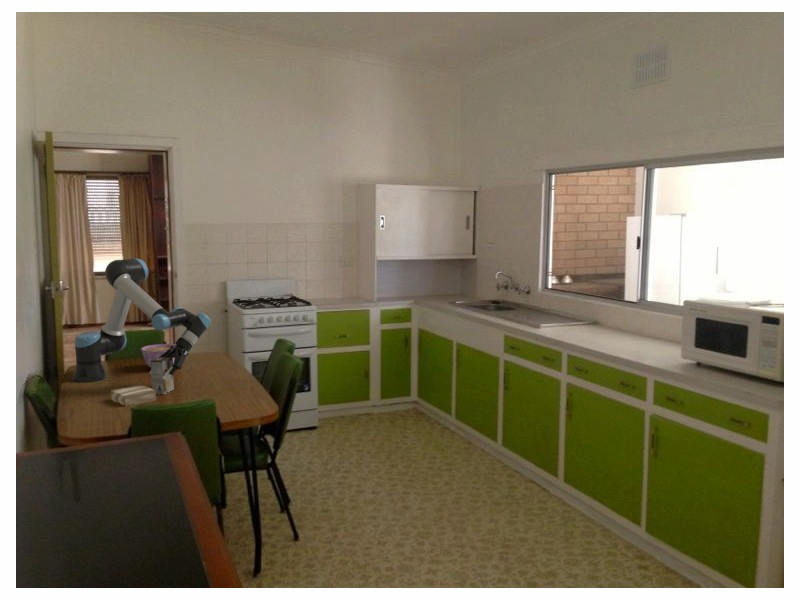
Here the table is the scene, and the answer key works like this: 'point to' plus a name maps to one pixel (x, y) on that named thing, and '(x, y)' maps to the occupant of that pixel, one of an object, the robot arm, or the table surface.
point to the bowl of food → (155, 352)
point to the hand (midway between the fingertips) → (157, 377)
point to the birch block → (133, 395)
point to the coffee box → (161, 375)
